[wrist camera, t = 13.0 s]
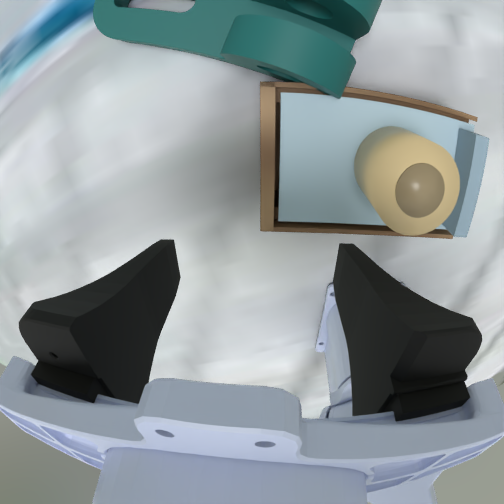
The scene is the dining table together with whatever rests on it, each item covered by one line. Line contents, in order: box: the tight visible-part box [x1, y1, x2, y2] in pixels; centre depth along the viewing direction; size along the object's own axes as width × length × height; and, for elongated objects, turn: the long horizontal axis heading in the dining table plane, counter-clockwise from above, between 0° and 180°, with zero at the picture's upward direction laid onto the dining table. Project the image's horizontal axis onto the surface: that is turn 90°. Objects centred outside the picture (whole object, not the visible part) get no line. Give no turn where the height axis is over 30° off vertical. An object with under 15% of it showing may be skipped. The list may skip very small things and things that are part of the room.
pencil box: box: [260, 82, 478, 239], centre depth 17 cm, size 9×14×5 cm, turn 91°
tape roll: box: [354, 126, 460, 236], centre depth 14 cm, size 5×5×4 cm
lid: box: [278, 92, 489, 237], centre depth 15 cm, size 8×13×3 cm, turn 91°
